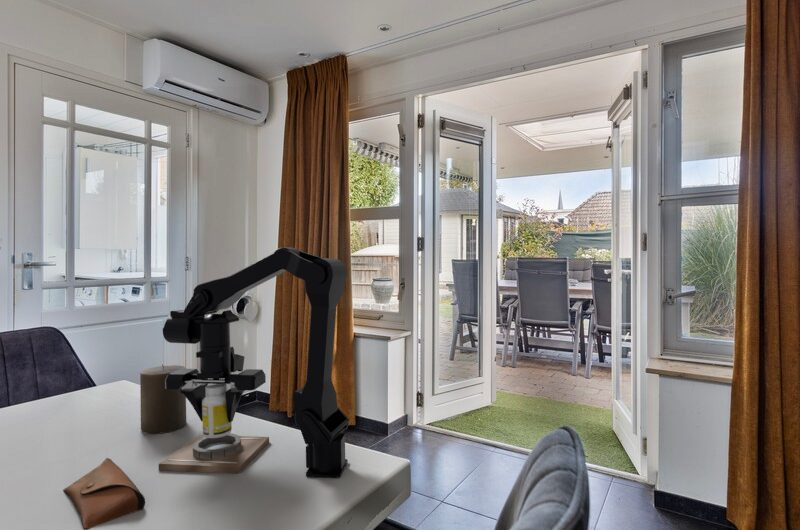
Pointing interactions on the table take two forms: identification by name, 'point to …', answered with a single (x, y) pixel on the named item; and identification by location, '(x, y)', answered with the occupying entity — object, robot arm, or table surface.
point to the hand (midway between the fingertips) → (217, 421)
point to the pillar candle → (161, 401)
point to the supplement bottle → (215, 412)
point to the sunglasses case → (104, 495)
